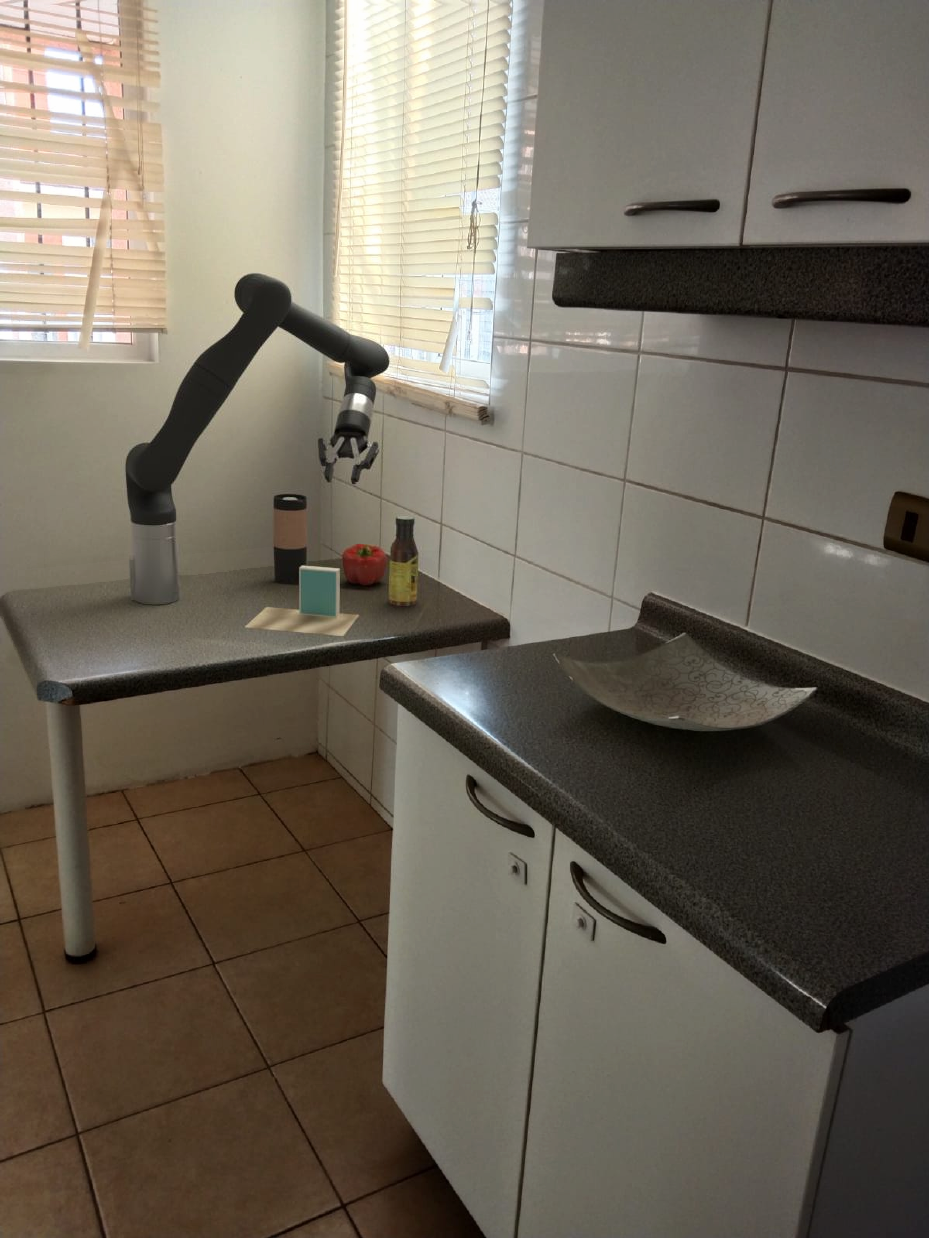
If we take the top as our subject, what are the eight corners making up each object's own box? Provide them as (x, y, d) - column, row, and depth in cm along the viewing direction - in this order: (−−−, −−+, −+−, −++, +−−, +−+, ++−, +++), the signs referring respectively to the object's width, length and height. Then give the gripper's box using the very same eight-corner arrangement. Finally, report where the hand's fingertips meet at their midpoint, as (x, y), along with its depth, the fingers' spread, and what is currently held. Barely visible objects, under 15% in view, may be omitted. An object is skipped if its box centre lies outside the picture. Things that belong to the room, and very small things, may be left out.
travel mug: (273, 576, 238) (272, 493, 232) (306, 576, 239) (306, 494, 233) (273, 585, 231) (273, 500, 225) (307, 585, 232) (307, 500, 226)
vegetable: (390, 589, 233) (391, 547, 229) (345, 591, 230) (346, 548, 227) (381, 577, 243) (382, 536, 239) (338, 578, 240) (339, 537, 237)
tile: (299, 614, 208) (299, 568, 205) (302, 611, 210) (302, 565, 207) (336, 617, 207) (337, 571, 204) (339, 614, 209) (339, 568, 206)
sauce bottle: (416, 611, 218) (419, 521, 212) (387, 609, 217) (389, 520, 211) (417, 602, 224) (420, 515, 218) (389, 601, 224) (391, 513, 218)
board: (244, 631, 199) (244, 627, 199) (266, 611, 212) (266, 607, 212) (343, 640, 197) (343, 635, 196) (359, 619, 210) (359, 615, 210)
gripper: (320, 406, 222) (305, 468, 215) (383, 410, 221) (370, 473, 213) (326, 427, 229) (311, 489, 221) (387, 431, 227) (375, 493, 220)
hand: (340, 481), depth 217 cm, fingers open, 5 cm apart
